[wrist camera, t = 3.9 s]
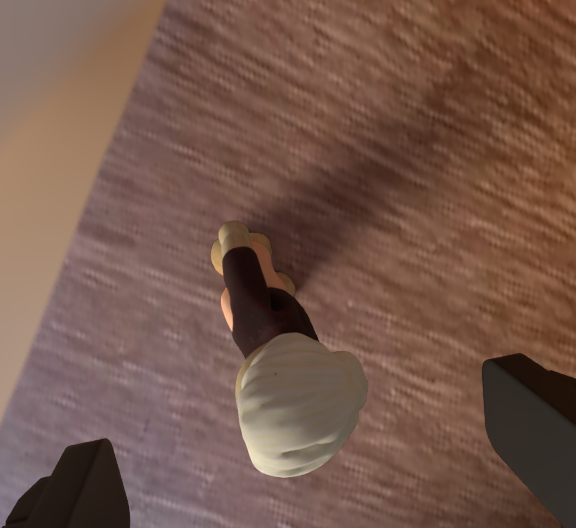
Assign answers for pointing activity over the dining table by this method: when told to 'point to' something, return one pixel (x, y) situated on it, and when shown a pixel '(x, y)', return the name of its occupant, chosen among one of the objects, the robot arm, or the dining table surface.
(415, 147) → the dining table surface
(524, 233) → the dining table surface
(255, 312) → the grandmother figurine
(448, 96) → the dining table surface
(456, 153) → the dining table surface
